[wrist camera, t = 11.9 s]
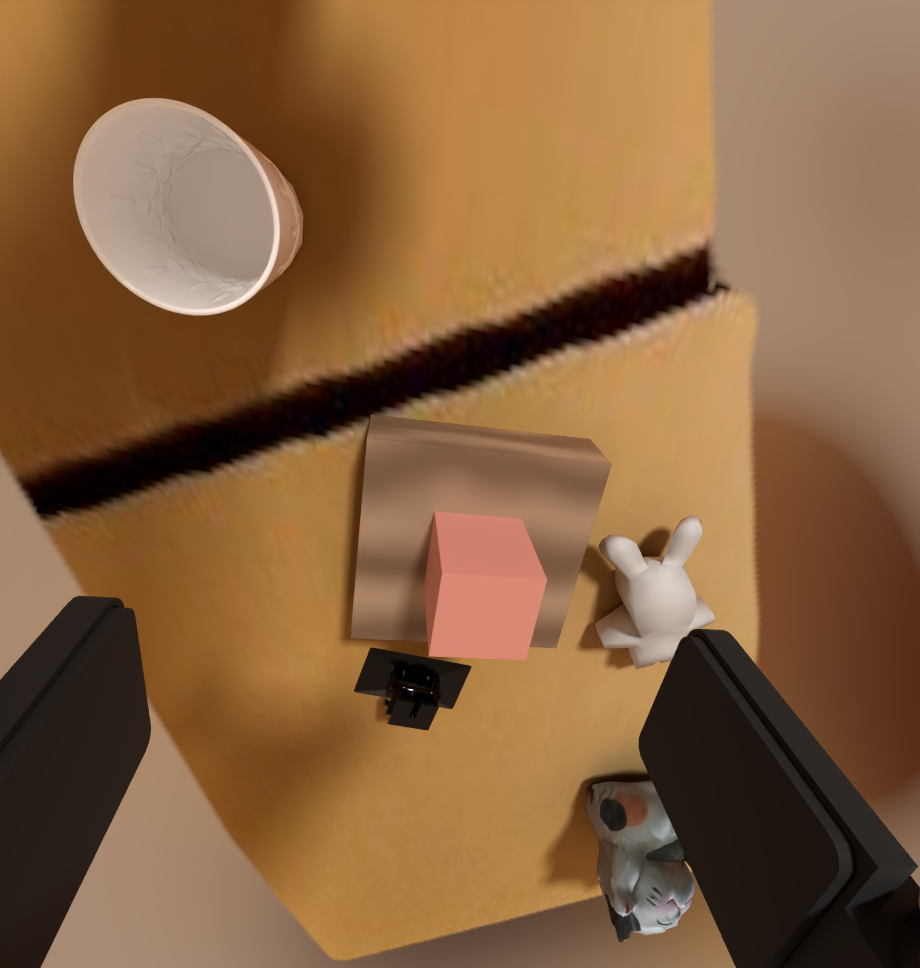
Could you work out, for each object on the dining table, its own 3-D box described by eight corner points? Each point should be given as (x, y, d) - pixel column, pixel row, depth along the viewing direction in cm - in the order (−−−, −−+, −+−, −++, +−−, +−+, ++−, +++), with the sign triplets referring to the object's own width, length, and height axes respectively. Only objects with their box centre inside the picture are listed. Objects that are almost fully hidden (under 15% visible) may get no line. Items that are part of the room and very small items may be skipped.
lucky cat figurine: (719, 785, 59) (752, 949, 51) (617, 787, 65) (631, 934, 57) (677, 763, 50) (709, 961, 42) (561, 768, 56) (569, 941, 48)
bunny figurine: (612, 692, 45) (602, 567, 37) (592, 645, 50) (579, 523, 41) (719, 666, 45) (733, 535, 37) (690, 621, 49) (697, 494, 41)
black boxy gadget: (488, 658, 48) (496, 698, 44) (462, 714, 51) (467, 756, 47) (355, 631, 45) (350, 671, 41) (334, 691, 48) (328, 735, 44)
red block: (434, 511, 35) (442, 573, 29) (521, 518, 36) (547, 579, 30) (423, 584, 38) (428, 656, 31) (505, 589, 38) (525, 660, 32)
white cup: (331, 177, 30) (301, 157, 21) (294, 310, 33) (253, 343, 24) (186, 108, 28) (85, 55, 19) (160, 257, 31) (62, 271, 22)
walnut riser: (371, 412, 37) (366, 438, 32) (587, 436, 39) (611, 464, 35) (355, 595, 44) (350, 638, 39) (541, 606, 46) (556, 648, 42)
